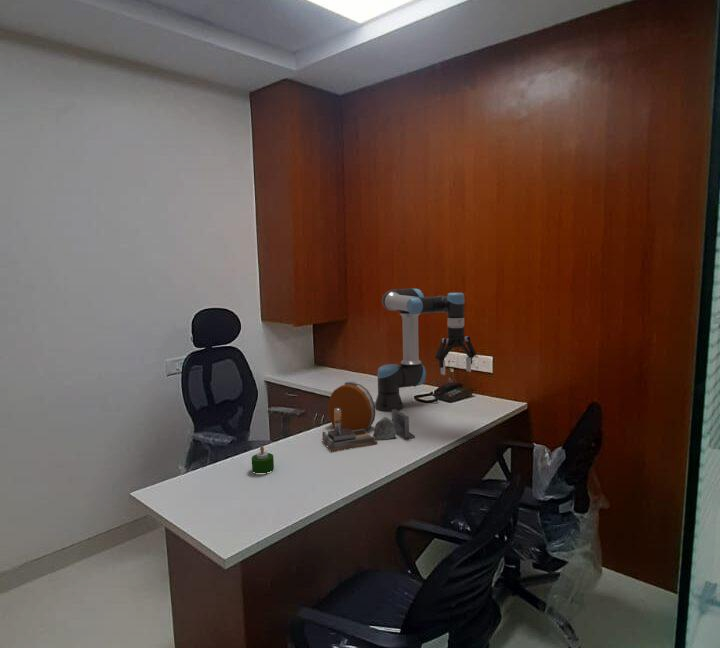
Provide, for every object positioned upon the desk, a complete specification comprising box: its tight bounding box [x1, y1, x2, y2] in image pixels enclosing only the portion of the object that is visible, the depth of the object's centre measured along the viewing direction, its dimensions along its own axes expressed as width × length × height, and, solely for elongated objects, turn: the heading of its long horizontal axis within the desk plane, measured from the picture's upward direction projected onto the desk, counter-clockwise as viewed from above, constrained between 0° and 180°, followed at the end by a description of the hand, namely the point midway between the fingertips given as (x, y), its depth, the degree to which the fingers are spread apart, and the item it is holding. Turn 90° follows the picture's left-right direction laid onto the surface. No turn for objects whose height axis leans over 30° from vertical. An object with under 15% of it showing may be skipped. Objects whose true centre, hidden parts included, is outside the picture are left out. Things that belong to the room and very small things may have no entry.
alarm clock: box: [327, 381, 376, 431], centre depth 235 cm, size 22×10×23 cm, turn 65°
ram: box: [327, 408, 356, 443], centre depth 213 cm, size 8×10×15 cm
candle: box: [251, 445, 275, 473], centre depth 188 cm, size 8×8×10 cm
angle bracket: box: [391, 409, 416, 441], centre depth 224 cm, size 14×5×10 cm, turn 21°
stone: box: [372, 416, 397, 441], centre depth 221 cm, size 10×10×10 cm
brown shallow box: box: [321, 429, 378, 452], centre depth 215 cm, size 14×21×4 cm, turn 111°
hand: (455, 372), depth 222 cm, fingers open, 13 cm apart
